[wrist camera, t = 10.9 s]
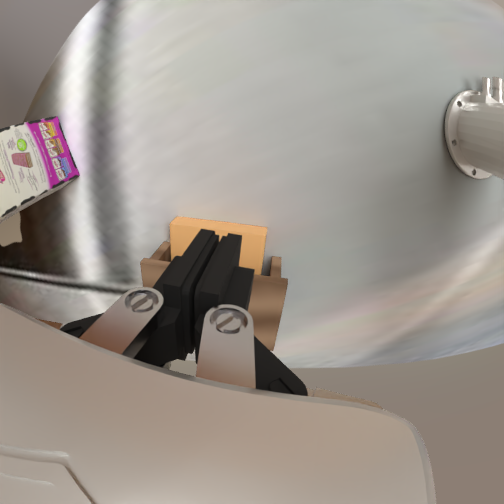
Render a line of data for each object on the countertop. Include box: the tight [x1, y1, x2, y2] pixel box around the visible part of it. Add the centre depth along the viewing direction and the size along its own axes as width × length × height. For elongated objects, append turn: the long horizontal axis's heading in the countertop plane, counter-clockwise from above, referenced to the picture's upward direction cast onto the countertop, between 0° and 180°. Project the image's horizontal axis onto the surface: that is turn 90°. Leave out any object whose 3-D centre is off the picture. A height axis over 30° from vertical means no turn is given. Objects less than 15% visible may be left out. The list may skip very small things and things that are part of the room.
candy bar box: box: [0, 116, 79, 223], centre depth 25 cm, size 11×5×16 cm, turn 20°
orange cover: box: [170, 217, 267, 275], centre depth 37 cm, size 14×12×3 cm
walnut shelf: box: [140, 242, 288, 351], centre depth 37 cm, size 12×18×6 cm, turn 84°
